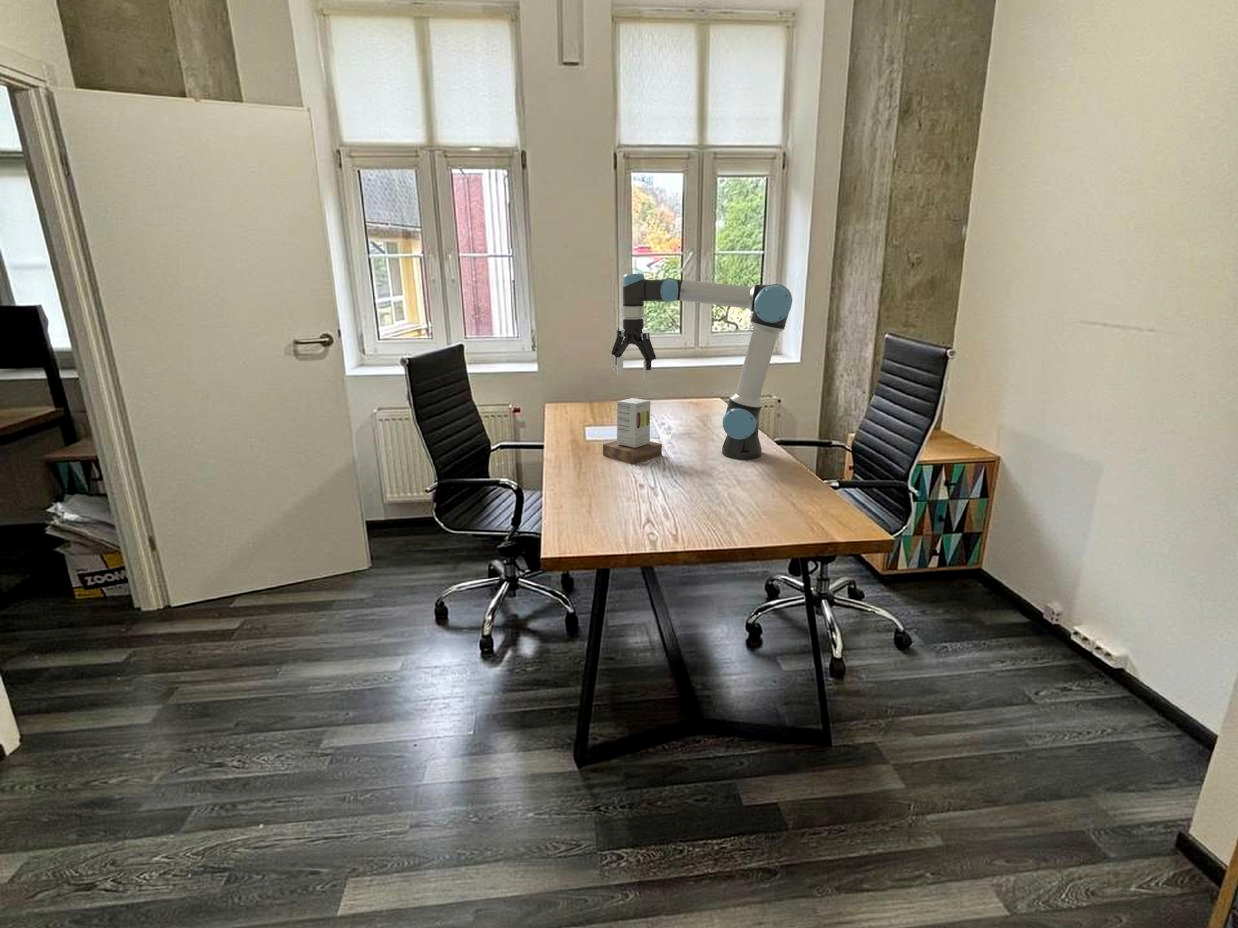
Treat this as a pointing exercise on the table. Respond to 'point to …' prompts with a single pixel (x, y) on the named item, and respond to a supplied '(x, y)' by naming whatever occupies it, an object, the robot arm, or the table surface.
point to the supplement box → (633, 422)
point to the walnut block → (632, 452)
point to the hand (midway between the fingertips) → (633, 376)
